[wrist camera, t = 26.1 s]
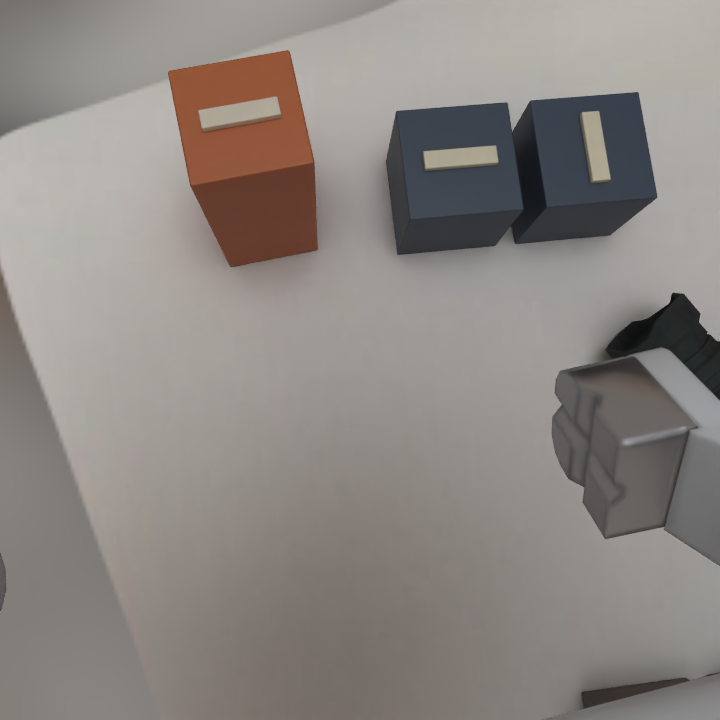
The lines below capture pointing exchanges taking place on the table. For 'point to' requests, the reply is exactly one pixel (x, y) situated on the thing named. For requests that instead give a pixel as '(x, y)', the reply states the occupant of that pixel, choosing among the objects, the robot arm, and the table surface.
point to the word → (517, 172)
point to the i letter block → (249, 155)
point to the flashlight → (674, 340)
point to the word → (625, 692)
